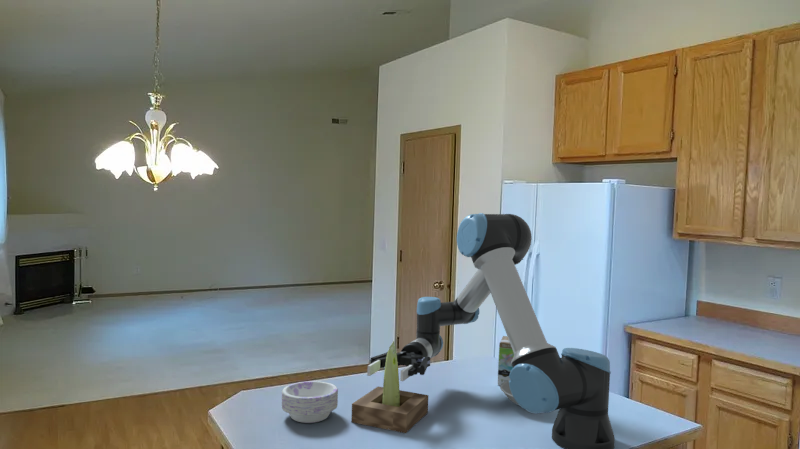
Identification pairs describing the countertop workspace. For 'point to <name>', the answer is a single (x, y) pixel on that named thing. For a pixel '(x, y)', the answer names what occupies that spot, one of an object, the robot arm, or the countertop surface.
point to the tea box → (504, 360)
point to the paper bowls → (309, 400)
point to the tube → (391, 379)
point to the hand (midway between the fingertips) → (385, 373)
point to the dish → (507, 391)
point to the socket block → (390, 410)
